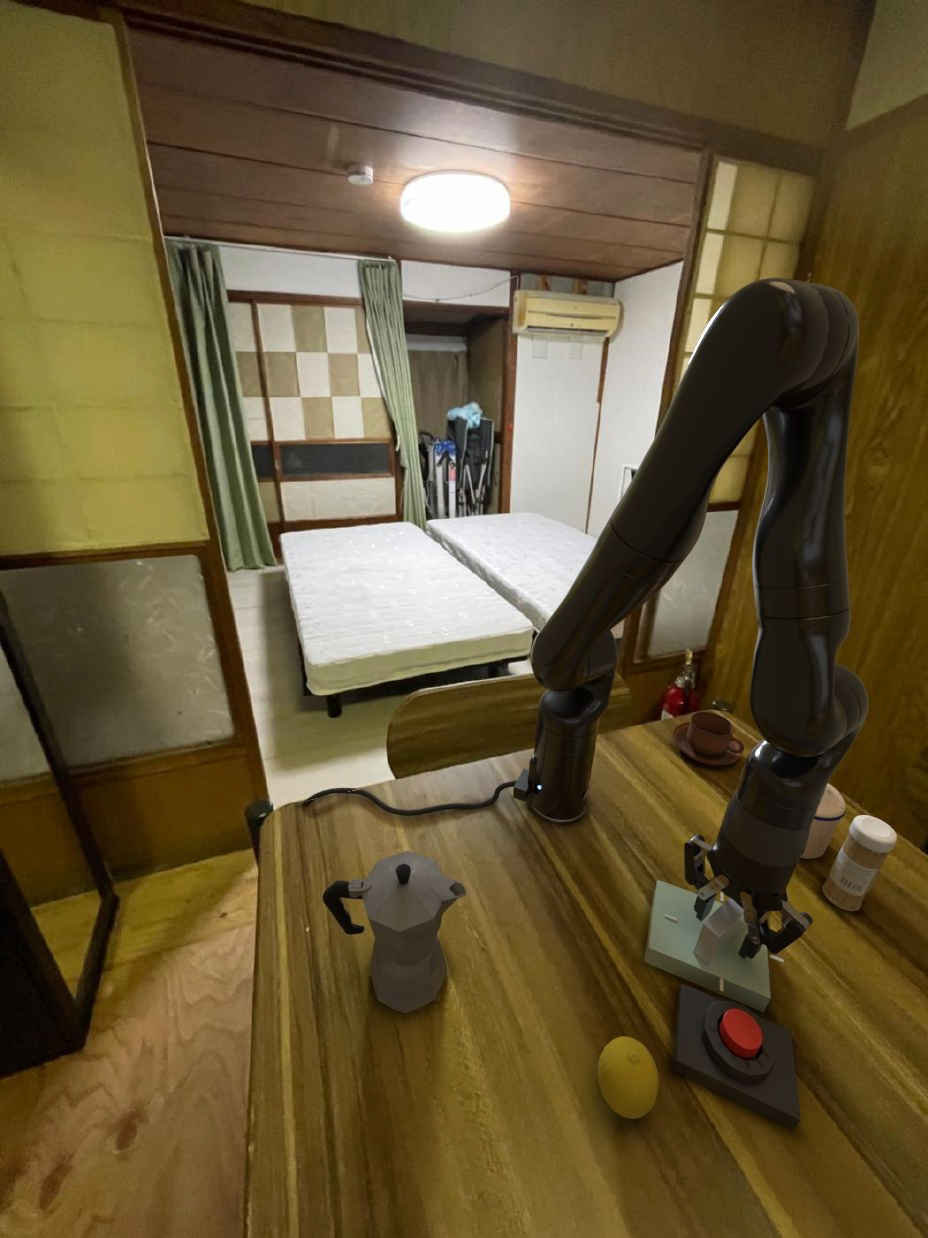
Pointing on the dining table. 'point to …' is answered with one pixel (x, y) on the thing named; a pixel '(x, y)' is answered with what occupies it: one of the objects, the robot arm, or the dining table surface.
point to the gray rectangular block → (719, 931)
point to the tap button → (741, 1033)
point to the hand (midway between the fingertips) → (723, 933)
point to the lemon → (628, 1077)
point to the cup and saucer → (708, 739)
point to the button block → (735, 1058)
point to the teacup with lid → (824, 823)
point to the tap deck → (674, 953)
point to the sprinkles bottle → (858, 862)
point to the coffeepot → (401, 925)
